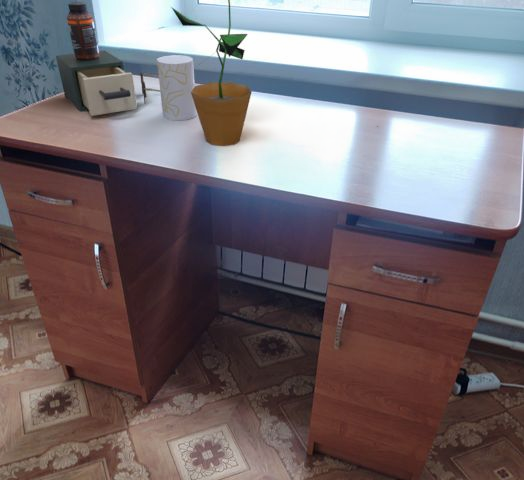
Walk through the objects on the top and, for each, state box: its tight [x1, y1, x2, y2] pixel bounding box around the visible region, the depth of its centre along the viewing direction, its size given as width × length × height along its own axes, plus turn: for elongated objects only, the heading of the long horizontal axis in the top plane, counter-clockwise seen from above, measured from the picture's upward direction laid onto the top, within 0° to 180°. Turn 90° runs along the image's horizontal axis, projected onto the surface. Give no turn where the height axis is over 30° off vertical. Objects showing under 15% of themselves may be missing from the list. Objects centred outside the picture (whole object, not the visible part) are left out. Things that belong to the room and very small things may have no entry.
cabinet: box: [55, 50, 125, 112], centre depth 127 cm, size 14×13×10 cm
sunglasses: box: [139, 72, 160, 104], centre depth 132 cm, size 14×15×5 cm
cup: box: [156, 54, 198, 121], centre depth 119 cm, size 8×8×12 cm
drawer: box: [75, 66, 138, 117], centre depth 121 cm, size 17×11×8 cm, turn 31°
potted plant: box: [170, 0, 253, 147], centre depth 101 cm, size 18×19×30 cm
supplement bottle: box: [66, 1, 100, 60], centre depth 121 cm, size 6×6×11 cm
